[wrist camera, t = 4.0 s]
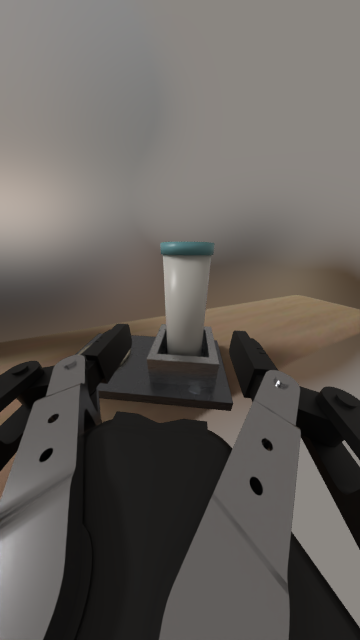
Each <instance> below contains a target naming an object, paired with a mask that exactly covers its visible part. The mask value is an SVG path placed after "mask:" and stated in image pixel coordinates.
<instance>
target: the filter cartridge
mask: <svg viewBox="0 0 360 640" xmlns="http://www.w3.org/2000/svg"><path fill="white" fill-rule="evenodd" d="M213 253H214V243H208V242H163V243H161V254H163V263H164V285H165V307H166V330H167V352H168V355H181V356H196V357H201V349H202V339H203V329H204V320H205V310H206V300H207V291H208V281H209V271H210V262H211V255H213Z"/></svg>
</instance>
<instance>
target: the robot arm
mask: <svg viewBox="0 0 360 640" xmlns="http://www.w3.org/2000/svg"><path fill="white" fill-rule="evenodd" d="M131 346H132V338H131V333H130V328H129V325H128V324H117V325H115V326H114V327H113V328H112V329H111V330H109V331H107V332H105V333H103V334H102V335H101V336H100V337H99V338H98V339H97V340H96V341H95V342H94V343H92V344H91V345H90V346H89V347H88V348H87V349H86V350H85V351H84V352H83V353H82V354H80V355H73V356H69V357H67V358H65V359H63V360H61V361H60V362H58V363H57V364H56V365H55V366H50V367H44V368H42V367H41V365H40V363H39V362H37V361H29V362H25V363H21V364H19V365H17V366H14V367H13V368H11V369H9V370H8V371H6V372H5V373H3V374H2V375H0V412H1V411H2V410H3V409H4V408H5V407H7V406H8V405H9V404H10V403H11V402H12V401H13V400H15V399H16V398H17V399H18V400H19V401H20V403H21V404H22V406H21V407H20V408H19V409H18V410H17V411H15V412H14V413H13V414H12V415H11V416H10V417H9V418H8V419H7V420H6V421H5V422H4V423H3V424H2V425H1V426H0V471H1V470H2V469H3V467H4V466H5V465H6V464H7V463H8V461H9V460H10V459H11V458H12V457H13V455H14V454H15V453H16V452H17V454H16V457H15V460H14V462H13V465H12V468H11V471H10V474H9V477H8V480H7V483H6V486H5V489H4V492H3V495H2V497H1V500H0V640H360V628H359V626H358V625H357V623H356V622H355V621H354V619H353V618H352V616H351V615H350V613H349V612H348V611H347V609H346V608H345V606H344V605H343V604H342V602H341V601H340V600H339V598H338V597H337V595H336V594H335V592H334V591H333V590H332V588H331V587H330V585H329V584H328V582H327V581H326V580H325V578H324V577H323V575H322V574H321V573H320V571H319V570H318V568H317V567H316V566H315V564H314V563H313V561H312V560H311V559H310V557H309V556H308V554H307V553H306V552H305V550H304V549H303V547H302V546H301V544H300V543H299V541H298V540H297V539H296V537H295V536H294V534H293V533H292V532H291V528H292V518H293V506H294V498H295V487H296V477H297V466H298V457H299V447H300V437H301V438H302V440H303V442H304V443H305V445H306V447H307V449H308V451H309V453H310V455H311V457H312V459H313V461H314V463H315V465H316V466H317V469H318V470H319V472H320V474H321V476H322V478H323V480H324V482H325V484H326V485H327V488H328V490H329V491H330V493H331V495H332V497H333V499H334V501H335V503H336V505H337V507H338V509H339V510H340V513H341V515H342V517H343V519H344V520H345V522H346V524H347V526H348V528H349V530H350V532H351V534H352V536H353V538H354V540H355V542H356V543H357V545H358V547H359V549H360V467H359V466H358V464H357V463H356V461H355V460H354V459H353V458H352V456H351V454H350V453H349V452H348V450H347V449H346V448H345V446H344V445H343V443H342V441H344V440H345V441H346V442H347V444H348V445H349V446H350V448H351V449H352V450H353V452H354V453H355V454H356V456H357V457H358V458H359V460H360V400H358V399H357V398H355V397H354V396H352V395H351V394H349V393H347V392H345V391H343V390H341V389H338V388H334V387H324V388H323V389H322V390H321V391H320V392H316V391H313V390H309V389H307V388H303V387H300V386H299V385H298V383H297V382H296V381H295V380H294V379H293V378H292V377H290V376H289V375H287V374H285V373H283V372H280V371H278V369H277V368H276V367H275V365H274V364H273V362H272V361H271V359H270V358H269V356H268V355H267V354H266V352H265V351H264V350H263V348H262V346H261V345H260V344H259V343H258V342H257V341H256V340H254V339H252V338H250V337H249V336H248V334H247V333H246V331H234V332H233V335H232V339H231V344H230V349H229V353H230V357H231V360H232V363H233V366H234V369H235V372H236V375H237V378H238V381H239V384H240V387H241V390H242V393H243V396H244V397H245V398H251V399H252V402H253V403H252V406H251V408H250V410H249V412H248V415H247V417H246V419H245V422H244V424H243V426H242V429H241V431H240V433H239V435H238V438H237V440H236V443H235V445H234V447H233V449H232V448H231V447H230V446H229V445H228V443H227V442H225V441H224V440H223V439H222V438H221V437H220V436H218V435H216V434H215V433H213V432H212V431H209V430H208V429H207V422H205V421H197V420H188V419H181V420H176V421H170V422H165V423H157V422H155V421H153V420H150V419H148V418H146V417H144V416H142V415H140V414H135V413H126V412H116V414H115V416H114V418H113V419H112V420H109V421H106V422H103V423H102V420H101V415H100V404H99V392H98V387H97V386H98V385H99V384H100V383H104V384H108V382H109V381H110V379H111V378H112V376H113V374H114V373H115V371H116V370H117V368H118V367H119V365H120V364H121V362H122V361H123V359H124V358H125V356H126V355H127V353H128V351H129V350H130V348H131Z"/></svg>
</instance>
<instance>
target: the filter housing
mask: <svg viewBox="0 0 360 640" xmlns="http://www.w3.org/2000/svg"><path fill="white" fill-rule="evenodd" d="M101 335H102V334H98V335H97V336H96V337H95V338H94V339H92V340H91V341H90V342H89V343H88V344H87V345H86V346H84V347H83V348H82V349H81V350H80V351H79V352H77V353H76V354H75V355H80V354H82V353H83V352H84V351H85V350H86V349H87V348H88V347H89V346H90V345H91V344H92V343H94V342H95V341H96V340H97V339H98V338H99V337H100V336H101ZM131 338H132V346H131V348H130V350H129V351H128V353H127V355H126V356H125V358H124V359H123V361H122V362H121V364H120V365H119V367H118V368H117V370H116V371H115V373H114V374H113V376H112V378H111V379H110V381H109V382H108V384H104V383H100V384H99V385H98V386H97V387H98V392H99V398H106V399H116V400H126V401H136V402H146V403H156V404H166V405H176V406H186V407H196V408H206V409H216V410H226V411H231V409H232V405H233V401H232V397H231V393H230V389H229V385H228V381H227V377H226V374H225V370H224V366H223V362H222V358H221V354H220V350H219V346H218V342H217V341H216V340H214V338H213V334H212V329H211V327H204V329H203V339H202V349H201V357H196V356H181V355H168V352H167V330H166V325H165V324H162V325H161V327H160V330H159V332H158V334H157V336H156V337H149V336H132V335H131Z"/></svg>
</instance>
